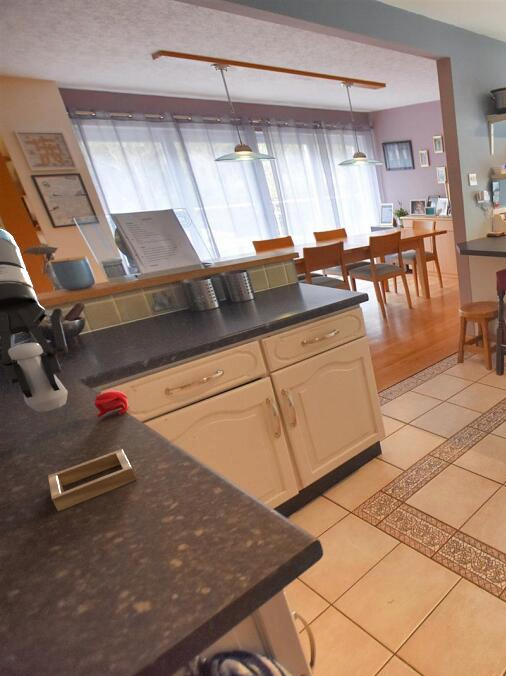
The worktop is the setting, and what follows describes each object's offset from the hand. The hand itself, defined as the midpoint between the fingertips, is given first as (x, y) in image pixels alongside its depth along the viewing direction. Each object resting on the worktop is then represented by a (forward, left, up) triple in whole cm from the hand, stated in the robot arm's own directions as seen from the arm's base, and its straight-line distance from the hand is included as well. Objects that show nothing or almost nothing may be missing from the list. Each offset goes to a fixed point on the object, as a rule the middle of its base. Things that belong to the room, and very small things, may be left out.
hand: (41, 390), depth 81 cm
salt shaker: (-3, +2, -5) cm, 6 cm away
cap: (-9, +18, -15) cm, 26 cm away
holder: (+13, -8, -15) cm, 21 cm away
